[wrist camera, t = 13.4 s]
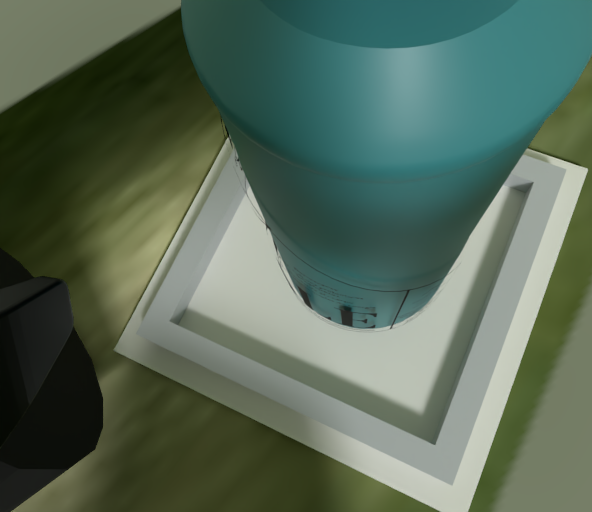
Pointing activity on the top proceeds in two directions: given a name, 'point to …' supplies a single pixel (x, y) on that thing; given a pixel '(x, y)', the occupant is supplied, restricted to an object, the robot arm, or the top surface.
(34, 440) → the black cylinder
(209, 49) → the beverage bottle
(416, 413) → the white square tray
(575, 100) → the top surface
